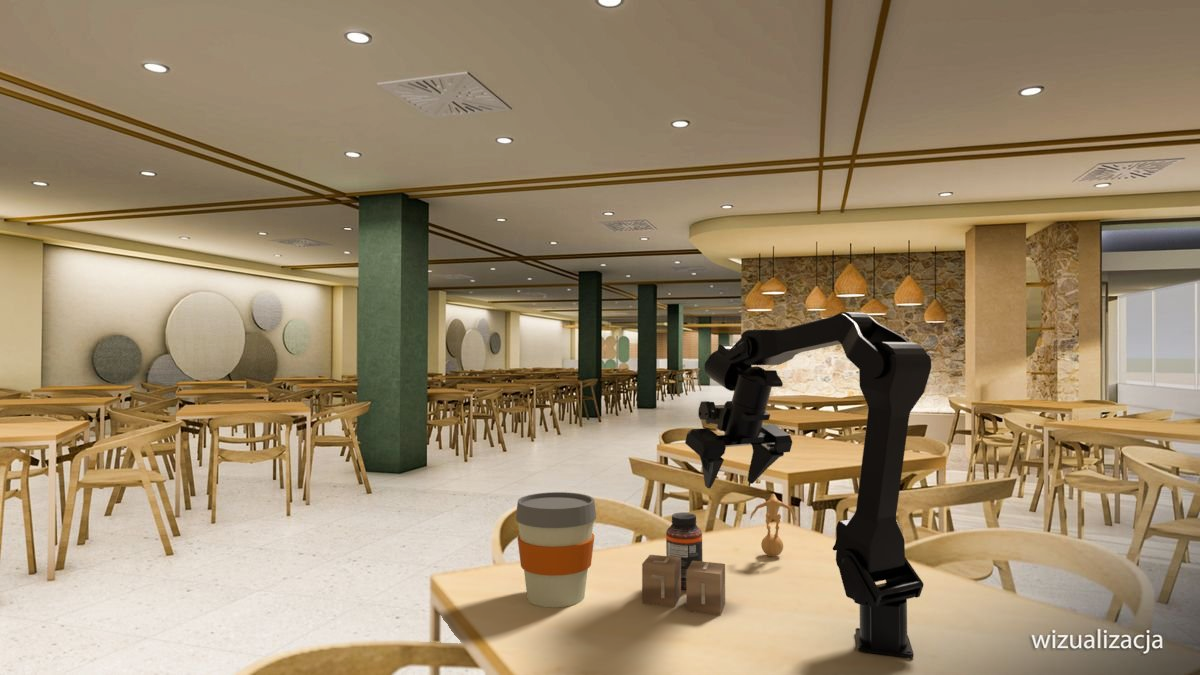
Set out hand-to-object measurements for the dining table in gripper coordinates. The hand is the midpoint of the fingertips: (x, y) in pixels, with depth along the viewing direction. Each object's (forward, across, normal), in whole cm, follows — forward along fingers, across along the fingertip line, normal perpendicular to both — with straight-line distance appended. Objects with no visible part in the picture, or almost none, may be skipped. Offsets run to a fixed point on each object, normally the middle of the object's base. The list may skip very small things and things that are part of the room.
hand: (729, 484), depth 115 cm
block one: (+11, +13, +15) cm, 22 cm away
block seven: (+13, +17, +10) cm, 23 cm away
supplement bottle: (+14, +10, +6) cm, 18 cm away
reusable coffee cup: (+16, +31, +2) cm, 35 cm away
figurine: (+16, -13, +2) cm, 20 cm away
